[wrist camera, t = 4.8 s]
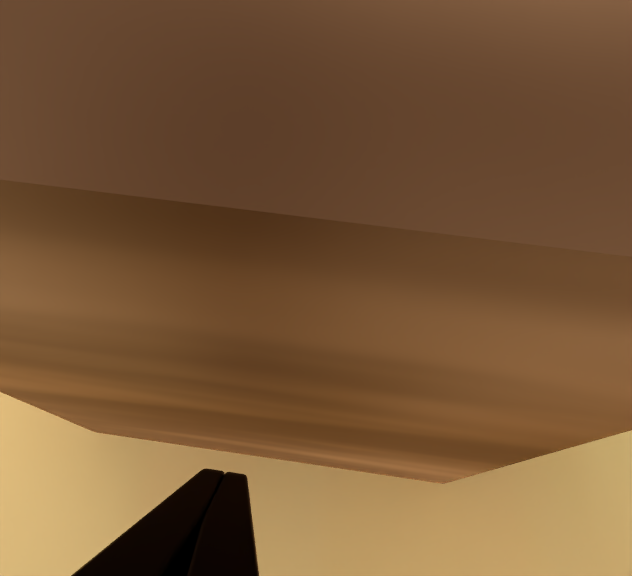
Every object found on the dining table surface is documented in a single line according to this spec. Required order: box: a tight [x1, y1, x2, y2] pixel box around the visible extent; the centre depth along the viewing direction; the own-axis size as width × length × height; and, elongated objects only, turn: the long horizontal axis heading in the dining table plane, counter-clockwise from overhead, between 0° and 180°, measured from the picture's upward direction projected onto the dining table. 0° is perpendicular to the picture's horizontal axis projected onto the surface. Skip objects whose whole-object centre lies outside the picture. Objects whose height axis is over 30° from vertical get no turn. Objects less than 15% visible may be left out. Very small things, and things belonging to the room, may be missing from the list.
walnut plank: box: [0, 0, 632, 484], centre depth 10 cm, size 3×12×14 cm, turn 82°
